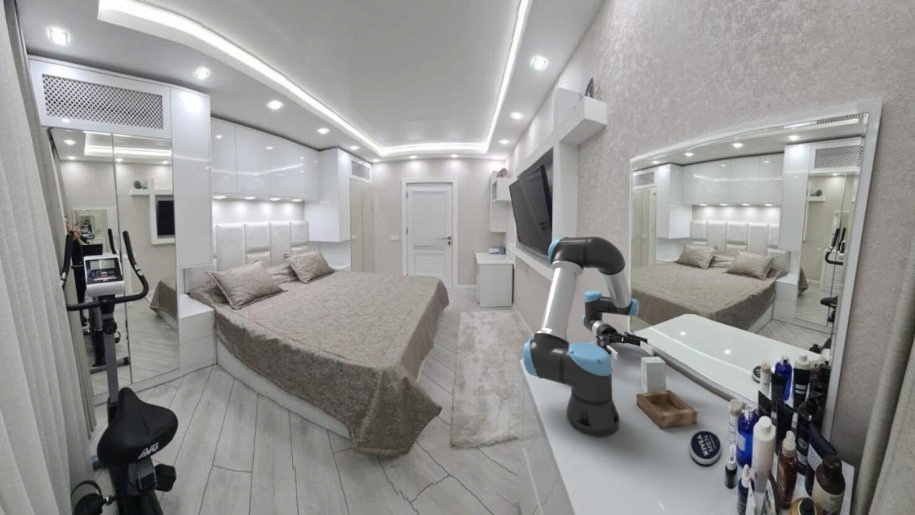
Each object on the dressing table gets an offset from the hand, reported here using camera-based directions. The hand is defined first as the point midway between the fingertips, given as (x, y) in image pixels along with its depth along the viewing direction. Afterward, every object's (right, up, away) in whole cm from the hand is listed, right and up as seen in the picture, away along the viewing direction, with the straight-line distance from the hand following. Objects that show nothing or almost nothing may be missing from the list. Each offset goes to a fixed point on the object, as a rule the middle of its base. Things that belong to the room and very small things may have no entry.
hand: (634, 354), depth 115 cm
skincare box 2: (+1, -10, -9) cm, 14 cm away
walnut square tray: (-2, -12, -20) cm, 23 cm away
